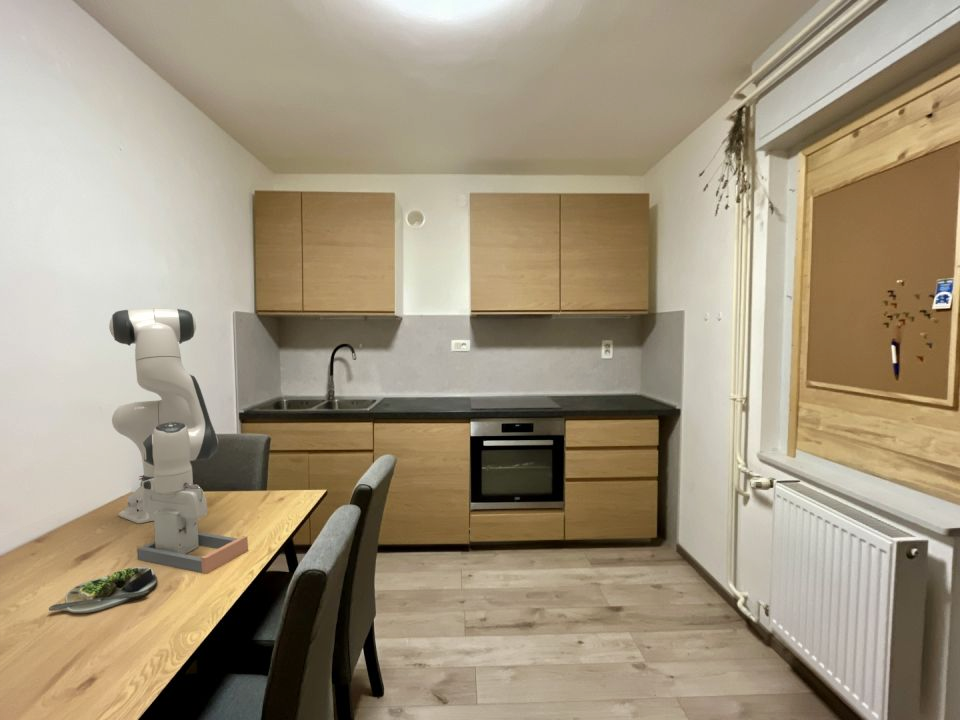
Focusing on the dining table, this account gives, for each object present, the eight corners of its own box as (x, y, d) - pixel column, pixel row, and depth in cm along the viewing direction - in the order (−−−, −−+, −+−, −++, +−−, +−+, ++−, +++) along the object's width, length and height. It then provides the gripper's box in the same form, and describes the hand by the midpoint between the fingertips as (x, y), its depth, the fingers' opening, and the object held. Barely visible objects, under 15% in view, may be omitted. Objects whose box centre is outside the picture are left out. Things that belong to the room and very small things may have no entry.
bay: (137, 559, 124) (136, 545, 124) (183, 539, 136) (182, 526, 136) (206, 573, 116) (205, 558, 116) (248, 550, 128) (247, 536, 128)
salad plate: (49, 633, 94) (47, 611, 93) (49, 598, 107) (47, 579, 106) (162, 595, 107) (161, 576, 107) (150, 568, 120) (149, 551, 120)
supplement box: (178, 559, 124) (175, 513, 123) (155, 557, 125) (152, 512, 125) (199, 547, 131) (197, 503, 130) (178, 545, 132) (175, 502, 132)
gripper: (212, 481, 126) (214, 530, 127) (159, 475, 133) (162, 522, 134) (190, 488, 121) (193, 540, 121) (137, 482, 127) (140, 530, 128)
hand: (176, 530), depth 128 cm, fingers closed on supplement box, 8 cm apart
